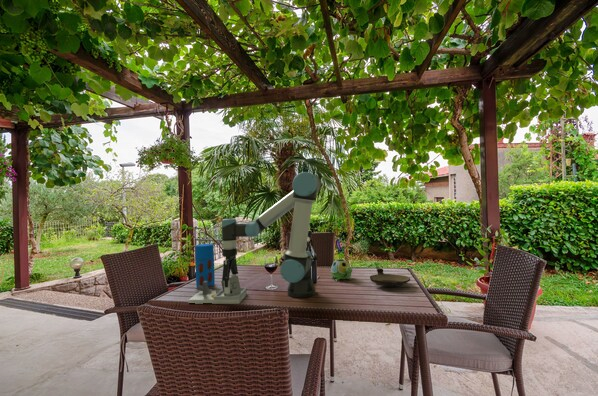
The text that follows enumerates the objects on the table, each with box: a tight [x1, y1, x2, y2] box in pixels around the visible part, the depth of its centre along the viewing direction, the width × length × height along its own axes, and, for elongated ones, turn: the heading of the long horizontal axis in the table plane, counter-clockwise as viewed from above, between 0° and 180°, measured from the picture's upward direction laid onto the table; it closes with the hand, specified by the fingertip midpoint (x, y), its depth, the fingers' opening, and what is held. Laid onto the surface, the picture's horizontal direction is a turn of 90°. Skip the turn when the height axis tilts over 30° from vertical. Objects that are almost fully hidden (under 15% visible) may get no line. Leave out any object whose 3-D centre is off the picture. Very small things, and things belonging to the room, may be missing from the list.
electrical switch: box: [221, 275, 242, 296], centre depth 157 cm, size 9×5×9 cm, turn 141°
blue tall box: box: [194, 243, 216, 289], centre depth 182 cm, size 11×11×25 cm
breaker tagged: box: [202, 281, 208, 297], centre depth 154 cm, size 1×3×8 cm, turn 175°
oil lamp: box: [369, 265, 411, 288], centre depth 173 cm, size 22×30×8 cm
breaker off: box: [196, 285, 213, 293], centre depth 160 cm, size 1×3×8 cm
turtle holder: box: [330, 258, 353, 282], centre depth 186 cm, size 12×18×12 cm
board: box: [188, 287, 248, 305], centre depth 156 cm, size 26×15×4 cm, turn 85°
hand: (230, 289), depth 156 cm, fingers open, 11 cm apart
